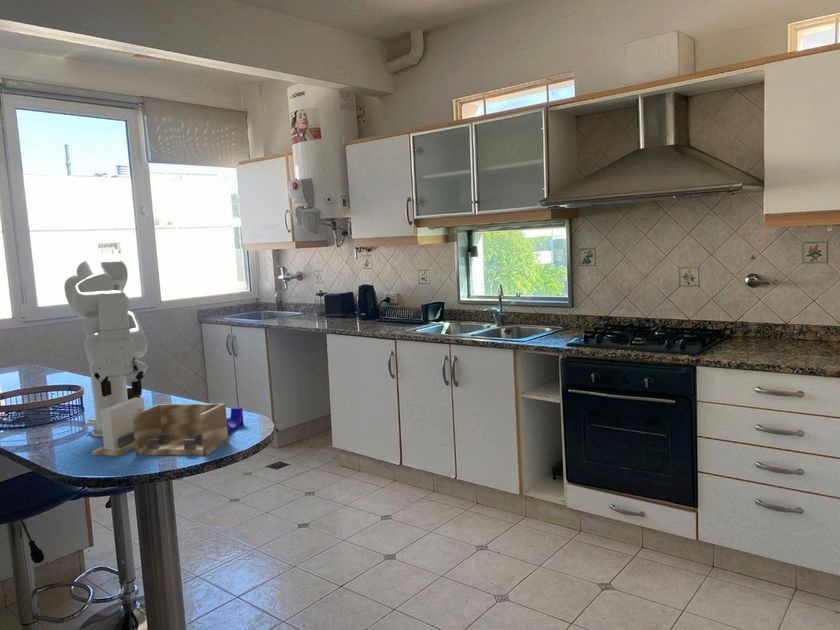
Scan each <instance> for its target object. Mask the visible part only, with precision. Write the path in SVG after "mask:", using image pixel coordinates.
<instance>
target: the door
mask: <svg viewBox="0 0 840 630" xmlns="http://www.w3.org/2000/svg"><path fill="white" fill-rule="evenodd" d="M145 409H146V408H145V399H144V397H141V396H140V398H132V399H129V400H127V401H124V402H121V403H119V404H116V405H113V406H110V407H108V408H105V409H102V410H100V414H101V423H102V433H103V437H102V443H103V442H104V445H103V446H104V449H116V448H118V447H119V442H118V439H119V438H121V437H124V436H126V435H128V434H130V433H132V432H134V430H133V420H132V415H133V414H136V413H138V412H140V411H143V410H145Z"/></svg>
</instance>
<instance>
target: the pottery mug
mask: <svg viewBox="0 0 840 630" xmlns="http://www.w3.org/2000/svg"><path fill="white" fill-rule="evenodd" d="M127 396H128V400H129V399H132V398H140V397H141V396H143V393H141V394H139V395H136V396H133V393H132V387H127Z"/></svg>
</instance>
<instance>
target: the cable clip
mask: <svg viewBox="0 0 840 630" xmlns="http://www.w3.org/2000/svg"><path fill="white" fill-rule="evenodd" d="M226 418H227V429H228V436H229V435H231V434H233V432H235V431H237V430H238V429H240V428H241V427H243V426H244V414H243V407H241V406H240V407H232V408H230V416H229V417H227V416H226Z"/></svg>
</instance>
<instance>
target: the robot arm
mask: <svg viewBox="0 0 840 630" xmlns="http://www.w3.org/2000/svg"><path fill="white" fill-rule="evenodd" d="M128 277H129V273H128V268H127V266H126V264H125V262H124V261H123V260H121V259H119V258H104V259H102V258H100V259H98V258H97V259H87V260H84V261H82V262H81V263H79V265H78V266H77V268H76V274H75V275H72V276H70V277H69V278H67V279H66V280H65V282H64V293H65V298H66V301H67V302H68V306H70V308H71V309H72V311H73V312H74V314H75V315H76V316H77V317H78V318H79V320H80V321H81V322H80V323H81V325H82V329H83V333H84V334H85V336H86V338H85V340H84V343H83V345H84V351H85V355H86V359H87V362H88V366H89V372H90V380H91V386H92V397H93V406H94V415H95V418H89V419H88V420H87V422H86V427H93V429H92V430H91V431H90V432H91V433H90V434H91V436H92V437H95V438H103V433H102V423H101V414H100V410H102V409H105V408H108V407H110V406H113V405H116V404H119V403H121V402H124V401H127V400H128V396H127V388H128V387H127V379H126V377H127V376H128V377H129V378H130V379H131V380H132V381H131V388H132V393H133V396H136V395H139V394H143V393H142V391H143V387H142V380H143V379H144V377H145V375H146V374H147V371H148V368H149V366H148V363H145V362H143V361H140V360H139V359H140V358H143V357H144V356H145V355H146V354H147V351H148V345H149V344H148V341H147V337H146V334H145V332H144V330H143V327H142V325H141V323H140V321H139V318H138V316H137V315H136V314H135V313H134V312H133V311H131V310H129V309H130V298H129V296H128V295H127V294H126V293H125V292H124V289H125V288H126V287H125V286H126V284H127V281H128ZM139 368H140V369H139Z"/></svg>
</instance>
